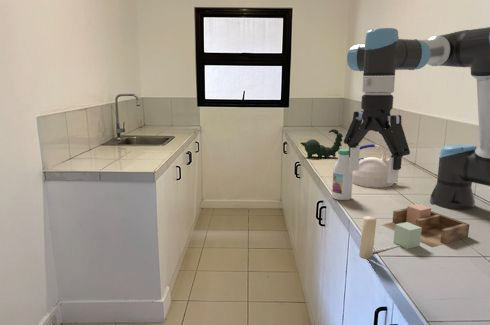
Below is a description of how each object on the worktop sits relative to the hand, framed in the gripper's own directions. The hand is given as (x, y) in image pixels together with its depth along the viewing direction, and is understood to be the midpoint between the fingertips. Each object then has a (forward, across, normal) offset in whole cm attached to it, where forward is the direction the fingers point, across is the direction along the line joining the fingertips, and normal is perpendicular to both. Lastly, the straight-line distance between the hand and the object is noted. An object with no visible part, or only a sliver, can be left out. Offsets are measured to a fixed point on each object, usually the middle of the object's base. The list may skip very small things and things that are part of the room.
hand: (372, 176), depth 99 cm
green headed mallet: (+23, 0, +7) cm, 24 cm away
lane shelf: (+23, -4, +28) cm, 36 cm away
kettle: (+23, -56, +58) cm, 84 cm away
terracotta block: (+22, -8, +31) cm, 39 cm away
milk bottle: (+23, -44, +29) cm, 57 cm away
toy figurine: (+23, -113, +72) cm, 136 cm away
